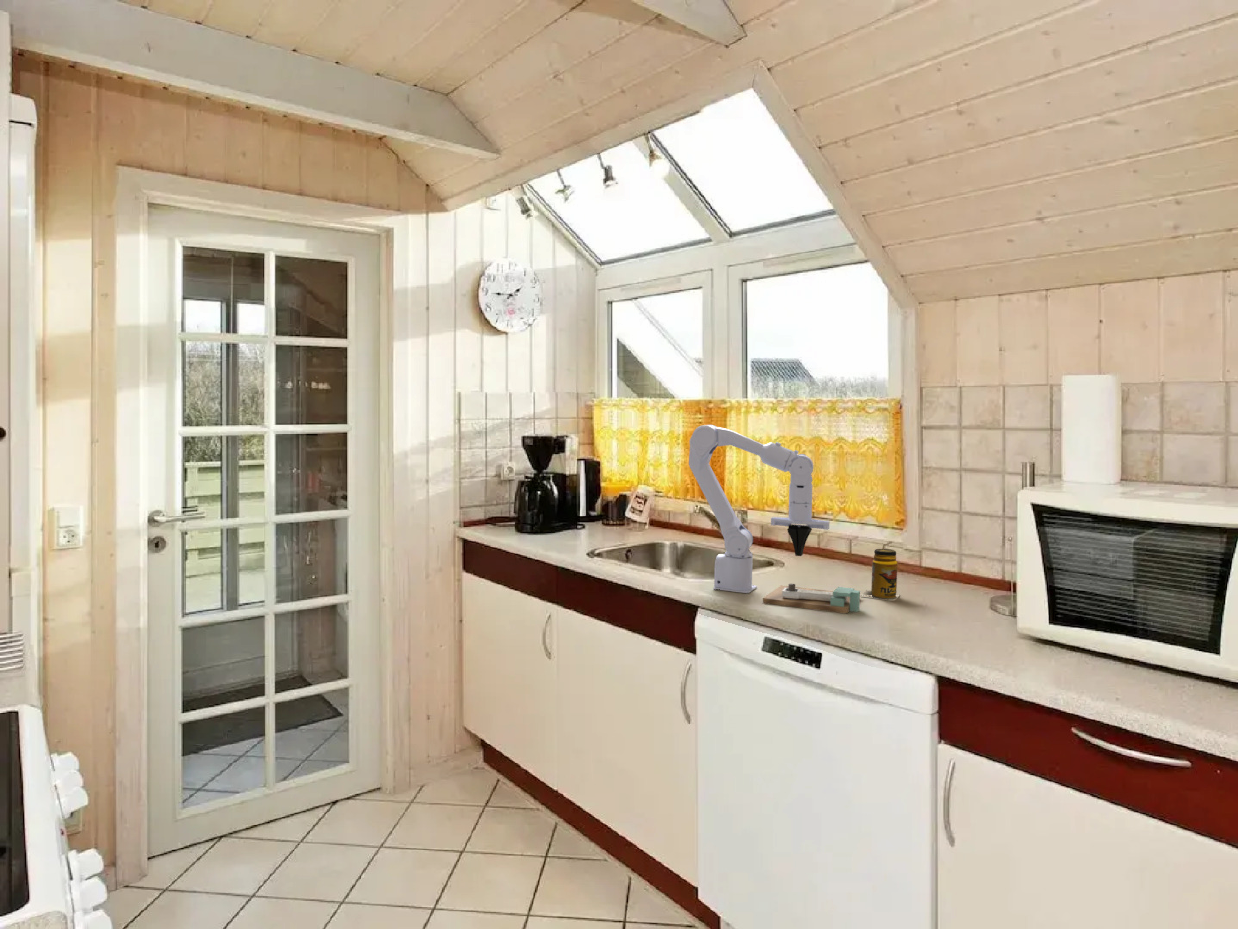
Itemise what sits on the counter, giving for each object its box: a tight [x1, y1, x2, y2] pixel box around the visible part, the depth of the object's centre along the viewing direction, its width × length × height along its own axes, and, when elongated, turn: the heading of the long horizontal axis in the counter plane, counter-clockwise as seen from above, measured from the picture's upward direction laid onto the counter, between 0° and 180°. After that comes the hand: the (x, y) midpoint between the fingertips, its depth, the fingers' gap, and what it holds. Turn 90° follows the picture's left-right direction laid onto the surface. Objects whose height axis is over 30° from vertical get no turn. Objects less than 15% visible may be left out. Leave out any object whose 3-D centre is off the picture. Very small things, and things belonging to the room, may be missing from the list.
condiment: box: [860, 548, 900, 602], centre depth 199 cm, size 7×8×12 cm
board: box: [762, 583, 850, 614], centre depth 193 cm, size 20×16×4 cm
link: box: [782, 588, 847, 603], centre depth 189 cm, size 15×4×2 cm, turn 70°
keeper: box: [830, 586, 861, 613], centre depth 185 cm, size 6×6×4 cm
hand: (798, 555), depth 200 cm, fingers closed
